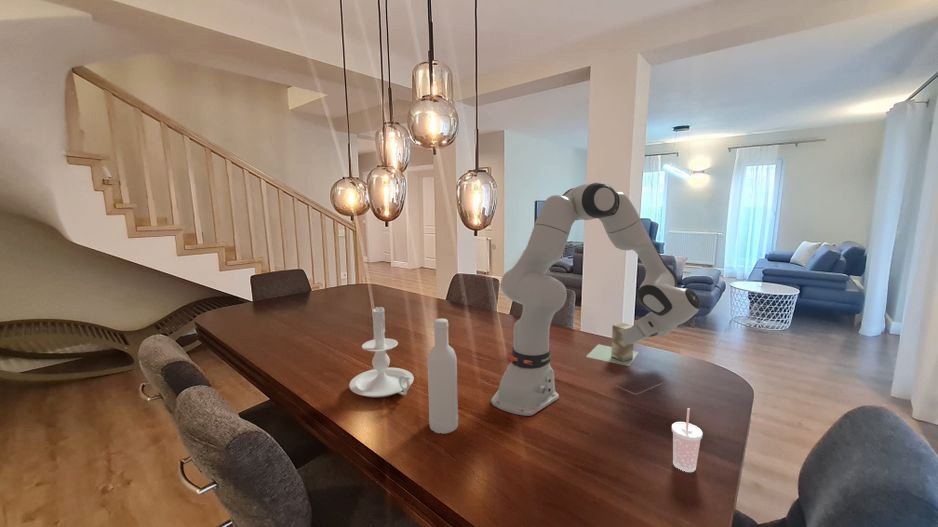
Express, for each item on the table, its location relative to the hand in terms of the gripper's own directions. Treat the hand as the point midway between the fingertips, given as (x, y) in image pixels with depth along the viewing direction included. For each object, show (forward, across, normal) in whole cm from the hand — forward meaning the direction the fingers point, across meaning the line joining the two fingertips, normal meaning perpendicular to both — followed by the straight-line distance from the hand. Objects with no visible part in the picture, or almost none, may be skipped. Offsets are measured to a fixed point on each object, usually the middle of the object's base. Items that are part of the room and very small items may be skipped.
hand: (632, 341), depth 143 cm
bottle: (+8, +78, +4) cm, 79 cm away
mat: (+12, 0, 0) cm, 12 cm away
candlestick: (+27, +85, -15) cm, 90 cm away
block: (+8, 0, +3) cm, 9 cm away
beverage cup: (-24, +40, +36) cm, 59 cm away
